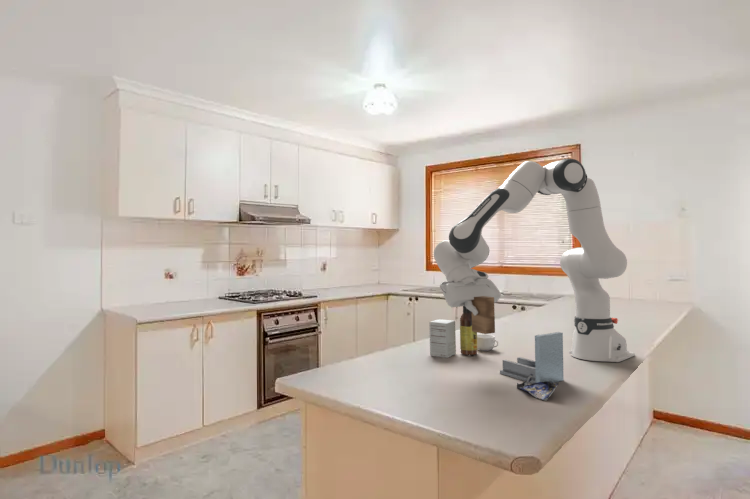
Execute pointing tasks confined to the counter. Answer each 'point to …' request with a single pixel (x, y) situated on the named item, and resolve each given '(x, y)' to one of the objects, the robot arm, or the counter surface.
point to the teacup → (486, 342)
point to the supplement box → (442, 338)
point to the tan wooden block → (484, 315)
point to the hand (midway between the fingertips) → (484, 313)
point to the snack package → (538, 388)
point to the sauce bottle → (467, 334)
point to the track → (540, 361)
